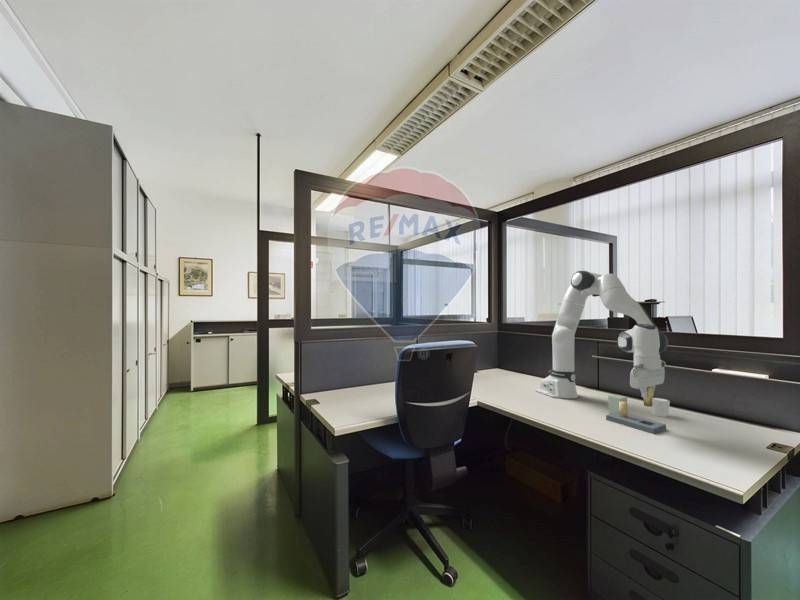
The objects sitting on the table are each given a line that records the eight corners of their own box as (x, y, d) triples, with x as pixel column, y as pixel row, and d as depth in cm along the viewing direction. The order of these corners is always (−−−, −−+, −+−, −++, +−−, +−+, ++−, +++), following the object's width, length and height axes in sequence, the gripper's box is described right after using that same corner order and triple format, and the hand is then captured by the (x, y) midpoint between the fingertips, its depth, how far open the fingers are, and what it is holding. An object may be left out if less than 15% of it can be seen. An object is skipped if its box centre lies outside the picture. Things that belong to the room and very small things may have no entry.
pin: (642, 405, 134) (641, 385, 134) (645, 404, 135) (645, 384, 136) (650, 407, 131) (649, 387, 131) (654, 405, 133) (653, 386, 133)
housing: (608, 412, 152) (608, 395, 152) (615, 410, 155) (615, 394, 155) (620, 416, 147) (620, 398, 148) (627, 414, 150) (627, 397, 150)
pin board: (606, 419, 143) (605, 401, 143) (618, 416, 148) (618, 398, 148) (653, 433, 127) (653, 413, 127) (665, 429, 132) (665, 409, 132)
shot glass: (673, 417, 145) (673, 402, 145) (656, 416, 147) (656, 401, 147) (664, 412, 152) (664, 397, 152) (648, 411, 153) (647, 397, 153)
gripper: (642, 366, 126) (643, 402, 126) (667, 362, 136) (668, 395, 135) (624, 364, 132) (625, 398, 131) (650, 360, 141) (651, 391, 141)
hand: (647, 396), depth 133 cm, fingers closed on pin, 3 cm apart
